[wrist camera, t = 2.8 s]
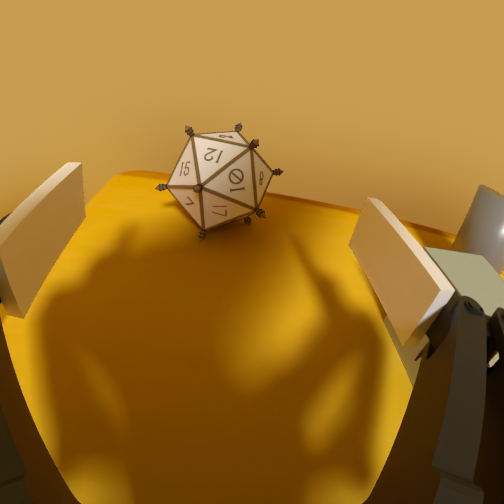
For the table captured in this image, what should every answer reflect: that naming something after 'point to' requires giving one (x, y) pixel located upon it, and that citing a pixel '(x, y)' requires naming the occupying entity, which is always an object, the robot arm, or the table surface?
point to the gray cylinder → (484, 228)
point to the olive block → (466, 284)
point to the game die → (219, 179)
